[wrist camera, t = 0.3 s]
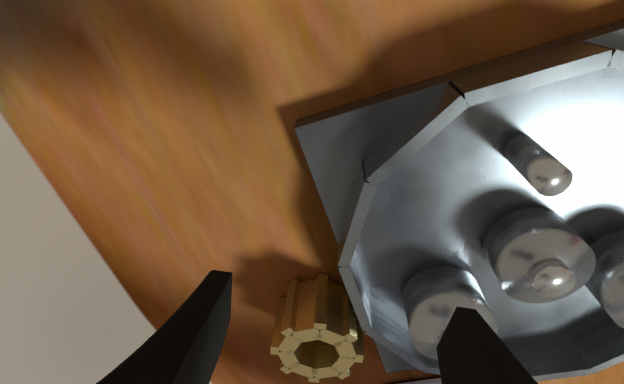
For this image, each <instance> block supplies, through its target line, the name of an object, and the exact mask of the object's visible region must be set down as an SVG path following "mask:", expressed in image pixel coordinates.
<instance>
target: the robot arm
mask: <svg viewBox="0 0 624 384" xmlns="http://www.w3.org/2000/svg"><path fill="white" fill-rule="evenodd" d="M231 290H232V273H230V272H223V271H217V270H212V271H211V272H209V273H208V275H207V276H206V277H205V279H204V280H203V281H202V282H201V284H200V285H199V286H198V287H197V288H196V290H195V291H194V292H193V293H192V294H191V295H190V296H189V298H188V299H187V300H186V301H185V302H184V303H183V304H182V305H181V306H180V308H179V309H178V310H177V311H176V312H175V313H174V314H173V315H172V316H171V317H170V318H169V319H168V320H167V321H166V322H165V323H164V324H163V325H162V326H161V327H160V328H159V329H158V330H157V331H156V332H155V333H154V334H153V335H152V336H151V337H150V338H149V339H148V340H147V341H146V342H145V343H144V344H143V345H142V346H141V347H139V348H138V349H137V350H136V351H135V352H134V353H133V354H132V355H130V356H129V357H128V358H127V359H126V360H125V361H123V362H122V363H121V364H120V365H119V366H118V367H117V368H115V369H114V370H113V371H112V372H110V373H109V374H108V375H107V376H105V377H104V378H103V379H102V380H101V381H99V382H98V383H96V384H209V381H210V379H211V376H212V374H213V371H214V368H215V366H216V363H217V361H218V358H219V355H220V353H221V350H222V347H223V343H224V339H225V336H226V332H227V328H228V324H229V321H230V315H231ZM436 348H437V355H438V363H439V370H440V376H441V378H434V379H427V380H420V381H413V382H405V383H398V384H538V383H537V382H536V381H535V380H534V379H533V378H532V376H531V375H530V374H529V373H528V372H527V371H526V369H525V368H524V367H523V366H522V365H521V363H520V362H519V361H518V360H517V359H516V358H515V356H514V355H513V354H512V353H511V352H510V350H509V349H508V348H507V347H506V345H505V344H504V343H503V342H502V341H501V339H500V338H499V337H498V336H497V334H496V333H495V332H494V331H493V330H492V328H491V327H490V326H489V325H488V323H487V322H486V321H485V320H484V319H483V317H482V316H481V315H480V314H479V313H478V311H477V310H476V309H471V308H464V307H456V309H455V311H454V313H453V315H452V317H451V319H450V321H449V323H448V325H447V327H446V329H445V331H444V333H443V335H442V337H441V339H440V341H439V343H438V345H437V347H436Z"/></svg>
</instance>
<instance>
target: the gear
mask: <svg viewBox="0 0 624 384" xmlns="http://www.w3.org/2000/svg"><path fill="white" fill-rule="evenodd" d="M270 354H274V355H278V356H279V358H280V359H281V361H280V368H279V369H280V370H282V371H283V372H284V373H286V374H289V373H291V372H294V373H297V374H300V375H303V376H305V377H308V382H315V383H319V379H320V378H327V377H334V376H337V377H339V378H340V379H341V380H342V379H344V378H346V377H348V376H350V367H351V366H352V365H353V364H354V363H355V362H358V363H362V362H363V357H364V350H363V336H362V328H361V325H360V323H359V320H358V318H357V315H356V313H355V310H354V308H353V305H352V303H351V300H350V297H349V295H348V292H347V290H346V287H345V285H343V286H342V285H340V284H337V283H335V282H332V281H330V280H328V274H318V273H317V279H312V280H307V281H303V282H300V281H299V280H298V279H297V278H295V279H294V280H292V281H290V282H289V283H288V289H287V295H286V297H279V303H278V308H277V314H276V319H275V325H274V330H273V336H272V342H271V351H270Z"/></svg>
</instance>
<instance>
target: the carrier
mask: <svg viewBox="0 0 624 384" xmlns="http://www.w3.org/2000/svg"><path fill="white" fill-rule="evenodd" d="M294 129H295V132H296V134H297V137H298V140H299V142H300V145H301V148H302V150H303V153H304V156H305V158H306V161H307V164H308V166H309V169H310V172H311V174H312V177H313V180H314V182H315V185H316V188H317V190H318V193H319V196H320V198H321V201H322V204H323V206H324V209H325V211H326V214H327V217H328V219H329V222H330V225H331V227H332V230H333V233H334V235H335V238H336V241H337V243H338V269H339V272H340V274H341V277H342V280H343V282H344V285H345V287H346V290H347V292H348V295H349V297H350V300H351V303H352V305H353V308H354V310H355V313H356V315H357V318H358V320H359V323H360V325H361V328H362V331H364V333H365V334H367V335H368V336H370V337H371V338H373V339H374V342H375V344H376V347H377V350H378V352H379V355H380V358H381V360H382V363H383V366H384V368H385V371H386V373H392V372H399V371H406V370H413V369H419V370H420V371H422V370H423V372H426V373H432V374H437V375H440V370H439V363H438V355H437V348H436V347H437V345H438V343H439V341H440V339H441V337H442V335H443V333H444V331H445V329H446V327H447V325H448V323H449V321H450V319H451V317H452V315H453V313H454V311H455V309H456V307H464V308H471V309H476V310H477V311H478V313H479V314H480V315H481V316H482V317H483V319H484V320H485V321H486V322H487V323H488V325H489V326H490V327H491V328H492V330H493V331H494V332H495V333H496V334H497V336H498V337H499V338H500V339H501V341H502V342H503V343H504V344H505V345H506V347H507V348H508V349H509V350H510V352H511V353H512V354H513V355H514V356H515V358H516V359H517V360H518V361H519V362H520V363H521V365H522V366H523V367H524V368H525V369H526V371H527V372H528V373H529V374H530V375H531V376H532V378H533V379H534V380H535V381H544V380H552V379H560V378H568V377H575V376H583V375H591V372H592V373H593V374H594V373H597V372H599V371H601V370H604V369H606V368H608V367H611V366H613V365H615V364H618V363H620V362H622V361H624V19H623V20H620V21H617V22H614V23H610V24H607V25H604V26H601V27H597V28H594V29H591V30H588V31H584V32H581V33H578V34H575V35H571V36H568V37H565V38H562V39H558V40H555V41H552V42H549V43H545V44H542V45H539V46H536V47H532V48H529V49H526V50H523V51H519V52H516V53H513V54H510V55H506V56H503V57H500V58H497V59H493V60H490V61H487V62H484V63H481V64H477V65H474V66H471V67H468V68H464V69H461V70H458V71H455V72H451V73H448V74H445V75H442V76H438V77H435V78H432V79H429V80H425V81H422V82H419V83H416V84H412V85H409V86H406V87H403V88H399V89H396V90H393V91H390V92H386V93H383V94H380V95H377V96H373V97H370V98H367V99H364V100H360V101H357V102H354V103H351V104H348V105H344V106H341V107H338V108H335V109H331V110H328V111H325V112H322V113H318V114H315V115H312V116H309V117H305V118H302V119H299V120H297V121H296V124H295V128H294Z"/></svg>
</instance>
